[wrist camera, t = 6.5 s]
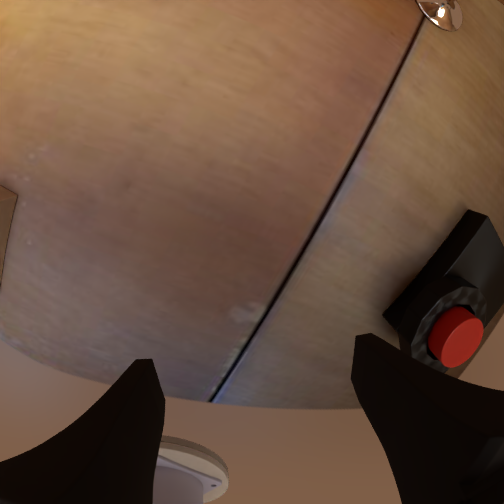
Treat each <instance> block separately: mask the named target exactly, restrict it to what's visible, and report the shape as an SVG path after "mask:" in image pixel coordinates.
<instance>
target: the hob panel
mask: <svg viewBox="0 0 504 504" xmlns="http://www.w3.org/2000/svg"><path fill="white" fill-rule="evenodd" d="M16 200H17V195H16V194H14V193H13V192H11V191H9V190H7V189H6V188H4V187H2V186H1V185H0V285H1V277H2V270H3V263H4V257H5V251H6V245H7V240H8V235H9V230H10V225H11V220H12V216H13V212H14V208H15V204H16Z"/></svg>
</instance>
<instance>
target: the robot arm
mask: <svg viewBox="0 0 504 504" xmlns="http://www.w3.org/2000/svg"><path fill="white" fill-rule="evenodd" d="M351 381H352V383H353V386H354V389H355V392H356V395H357V397H358V400H359V402H360V404H361V406H362V408H363V410H364V412H365V414H366V416H367V417H368V419H369V421H370V423H371V425H372V427H373V429H374V431H375V432H376V434H377V436H378V438H379V440H380V442H381V444H382V446H383V448H384V450H385V453H386V455H387V458H388V461H389V463H390V466H391V469H392V472H393V475H394V477H395V481H396V484H397V487H398V491H399V494H400V498H401V502H402V504H504V391H501V390H495V389H490V388H486V387H482V386H478V385H475V384H471V383H468V382H465V381H462V380H459V379H457V378H454V377H452V376H449V375H447V374H444V373H442V372H440V371H437V370H435V369H433V368H431V367H429V366H427V365H425V364H423V363H422V362H420V361H418V360H416V359H414V358H413V357H411V356H409V355H407V354H406V353H404V352H402V351H401V350H399V349H397V348H396V347H394V346H393V345H391V344H389V343H388V342H386V341H384V340H383V339H381V338H379V337H378V336H376V335H374V334H372V333H368V334H363V335H357V336H356V338H355V348H354V356H353V365H352V373H351ZM164 416H165V398H164V395H163V392H162V389H161V386H160V382H159V379H158V376H157V373H156V370H155V367H154V363H153V360H152V359H136V360H135V361H134V362H133V363H132V364H131V365H130V366H129V367H128V369H127V370H126V371H125V372H124V373H123V374H122V375H121V376H120V378H119V379H118V380H117V381H116V382H115V383H114V384H113V385H112V386H111V387H110V388H109V390H108V391H107V392H106V393H105V394H104V395H103V396H102V397H101V398H100V399H99V400H98V401H97V402H96V403H95V404H94V405H93V406H91V407H90V408H89V409H88V410H87V411H86V412H85V413H84V414H83V415H82V416H81V417H79V418H78V419H77V420H76V421H74V422H73V423H72V424H71V425H69V426H68V427H67V428H65V429H64V430H62V431H61V432H59V433H58V434H56V435H55V436H53V437H52V438H50V439H49V440H47V441H45V442H44V443H42V444H40V445H38V446H37V447H35V448H33V449H31V450H29V451H27V452H24V453H22V454H20V455H18V456H15V457H13V458H10V459H8V460H5V461H2V462H0V504H203V495H204V494H206V493H208V492H209V491H211V490H213V489H215V488H217V487H218V486H220V485H222V480H220V479H218V478H215V477H212V476H209V475H207V474H204V473H201V472H199V471H196V470H193V469H191V468H188V467H186V466H183V465H181V464H179V463H176V462H174V461H172V460H169V459H167V458H165V457H163V456H160V455H158V453H159V447H160V442H161V437H162V432H163V426H164Z"/></svg>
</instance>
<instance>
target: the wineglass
mask: <svg viewBox="0 0 504 504" xmlns="http://www.w3.org/2000/svg"><path fill="white" fill-rule="evenodd" d="M416 1H417V4H418V5H419V7H420V9H421V10H422V12H423V13H424V15H425V16H426V17H427V18H428V19H429V20H430V21H431V22H432V23H434V24H435V25H436V26H438V27H440V28H441V29H444V30H446V31H456V30H458V29H459V28H460V27H461V25H462V22H463V15H462V11H461V8H460V6H459V4H458V2H457V0H416ZM498 1H499V2H500V3H502V4H503V5H504V0H498Z"/></svg>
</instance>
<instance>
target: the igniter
mask: <svg viewBox="0 0 504 504" xmlns="http://www.w3.org/2000/svg"><path fill="white" fill-rule="evenodd" d="M482 335H483V324H482V322H481V321H480V320H479V319H478V318H477V317H476V316H474V315H473V314H472V313H471V312H469V311H468V310H467V309H465V308H464V307H461V306H456V307H453V308H451V309H449V310H447V311H446V312H444V313H443V315H442V316H441V317H440V318H439V319H438V320H437V322H436V323H435V324H434V325H433V327H432V330H431V332H430V334H429V337H428V347H429V349H430V351H431V352H432V353H433V354H434V355H435V356H436V357H437V359H438V360H439V361H440V362H441V363H442V364H443V365H444V366H446V367H456V366H458V365H460V364H462V363H463V362H465V361H466V360H467V359H468V358H469V357H470V356H471V355H472V354H473V353H474V352H475V350H476V349H477V347H478V345H479V344H480V341H481V339H482Z"/></svg>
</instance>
